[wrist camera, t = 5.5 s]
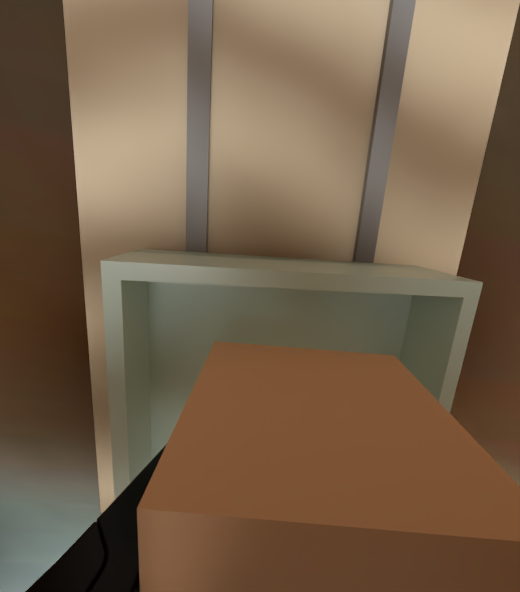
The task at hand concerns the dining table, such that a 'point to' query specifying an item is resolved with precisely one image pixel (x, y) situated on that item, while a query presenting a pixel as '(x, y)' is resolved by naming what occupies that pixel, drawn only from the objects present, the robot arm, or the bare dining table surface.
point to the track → (276, 134)
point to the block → (323, 484)
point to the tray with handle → (262, 327)
